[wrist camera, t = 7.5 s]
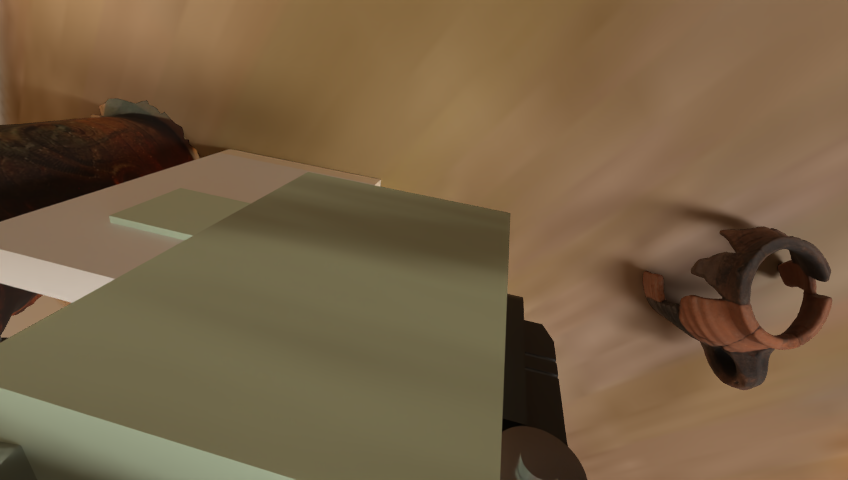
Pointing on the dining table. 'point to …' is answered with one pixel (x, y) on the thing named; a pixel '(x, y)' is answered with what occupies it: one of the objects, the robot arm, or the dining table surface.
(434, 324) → the sage block
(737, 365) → the pottery mug
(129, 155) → the vessel
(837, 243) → the dining table surface
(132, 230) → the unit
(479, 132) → the dining table surface
